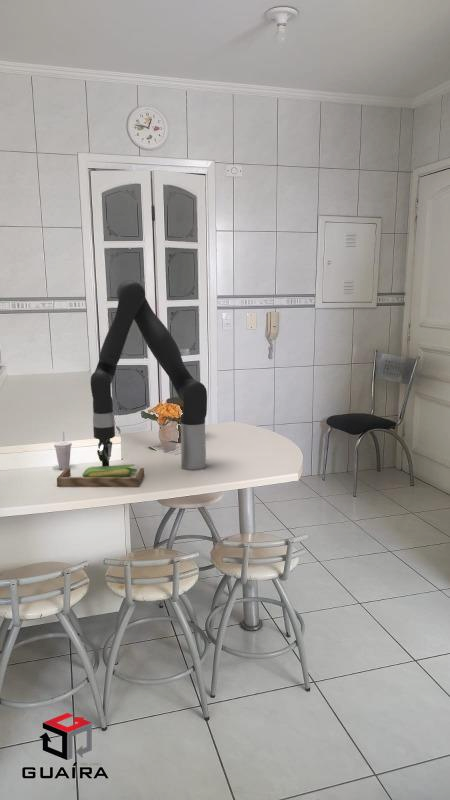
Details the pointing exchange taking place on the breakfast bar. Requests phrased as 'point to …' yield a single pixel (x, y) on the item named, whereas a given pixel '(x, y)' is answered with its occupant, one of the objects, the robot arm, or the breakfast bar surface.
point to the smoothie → (63, 453)
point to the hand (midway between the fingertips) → (106, 470)
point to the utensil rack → (98, 480)
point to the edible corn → (110, 471)
